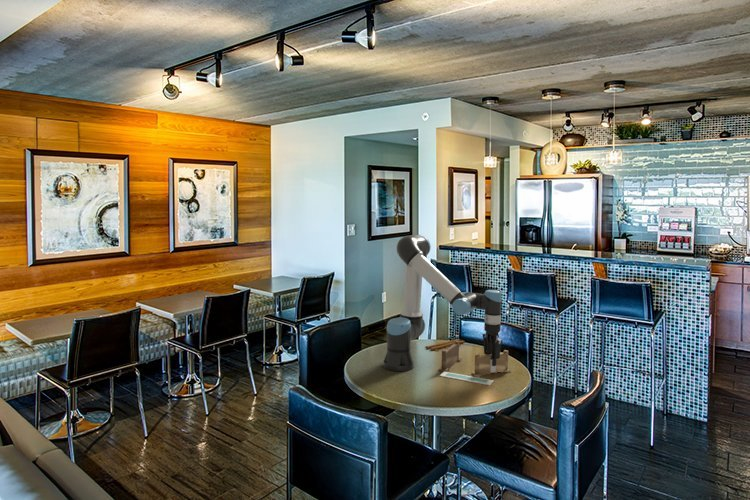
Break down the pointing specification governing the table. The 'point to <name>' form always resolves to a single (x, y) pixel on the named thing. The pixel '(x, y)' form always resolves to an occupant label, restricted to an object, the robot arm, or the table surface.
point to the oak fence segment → (484, 364)
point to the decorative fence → (443, 345)
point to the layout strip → (467, 378)
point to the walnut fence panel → (450, 357)
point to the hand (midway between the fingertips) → (491, 371)
